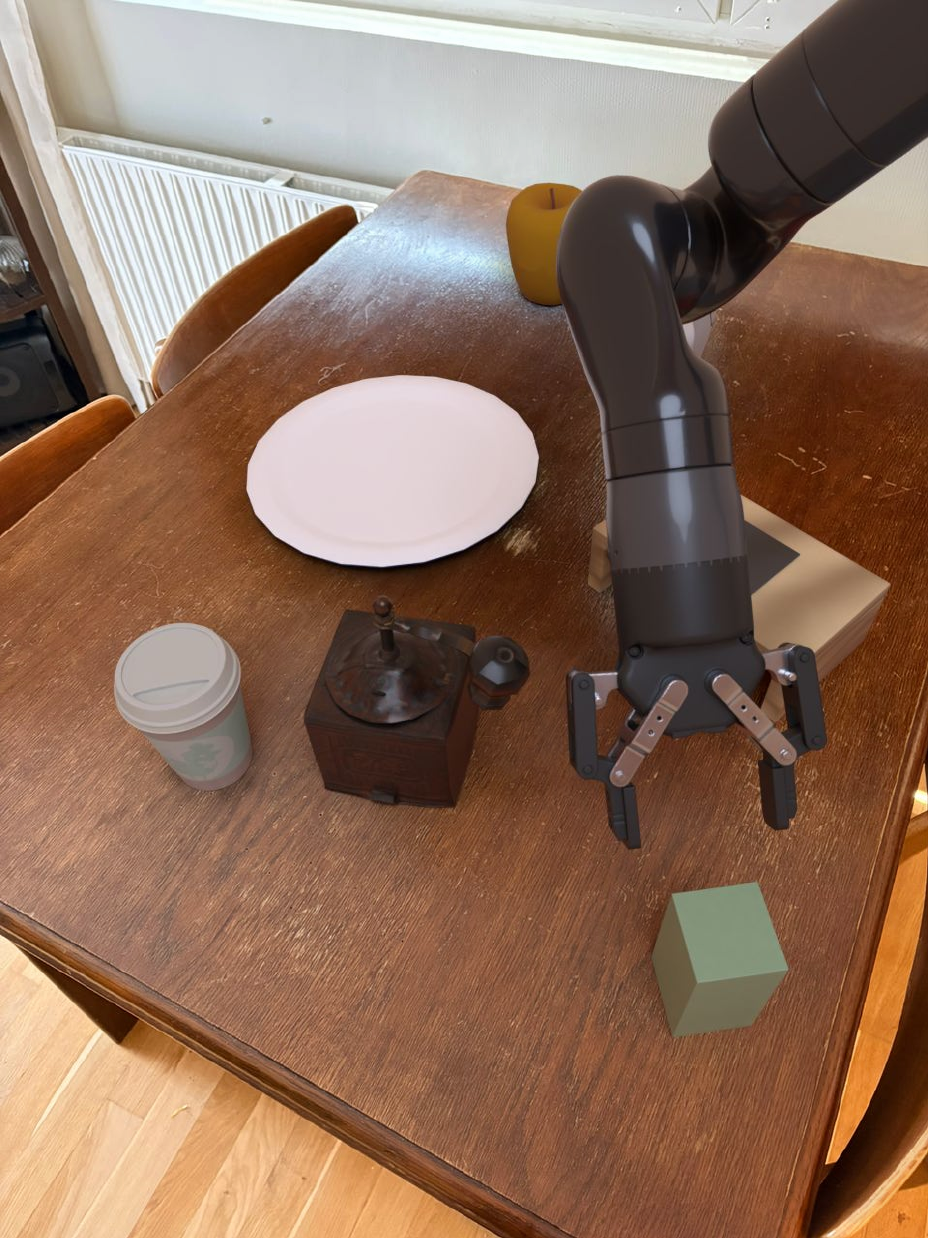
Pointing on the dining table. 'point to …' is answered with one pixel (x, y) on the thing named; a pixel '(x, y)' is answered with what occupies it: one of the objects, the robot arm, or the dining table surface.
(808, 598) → the shelf
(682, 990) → the green carton
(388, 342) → the dining table surface
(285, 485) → the plate
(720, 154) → the robot arm
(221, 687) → the coffee cup
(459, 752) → the coffee grinder
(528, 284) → the apple
